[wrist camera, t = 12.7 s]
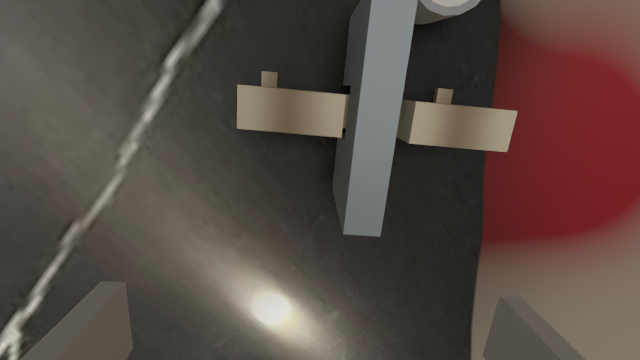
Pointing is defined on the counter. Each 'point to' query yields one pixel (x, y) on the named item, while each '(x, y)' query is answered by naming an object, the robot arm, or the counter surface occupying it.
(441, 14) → the white cylinder
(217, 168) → the counter surface
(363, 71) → the slotted plate
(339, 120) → the slotted stand
